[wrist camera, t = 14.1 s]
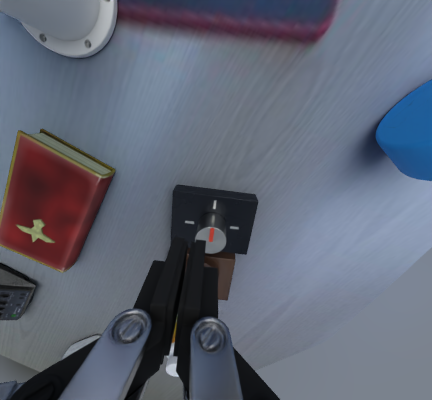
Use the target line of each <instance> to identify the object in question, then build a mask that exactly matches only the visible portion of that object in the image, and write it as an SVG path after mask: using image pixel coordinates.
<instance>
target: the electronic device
mask: <svg viewBox="0 0 432 400" xmlns="http://www.w3.org/2000/svg"><path fill="white" fill-rule="evenodd" d="M35 286H36V285H34V284H32V282H31V281H30V280H29V278H28V277H25V276H23V274H19V273H18V272H16V271H14V270H11V269H10V268H8V267H6V266H3V265H2V264H0V320H18V319H19V318H21V316H22V315H23V314H24V311H25V310H26V307H27V305H28V304H29V303H30V302H31V300H32V298H33V292H34V289H35V288H36V287H35Z"/></svg>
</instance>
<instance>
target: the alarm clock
mask: <svg viewBox="0 0 432 400" xmlns="http://www.w3.org/2000/svg"><path fill="white" fill-rule="evenodd" d="M376 141H377V143H378V144H379V145H380V147H381V148H382V149H383V150H384V152H385V153H386V154H387V155H388V157H389V158H390V159H391V160H392V162H393V163H394V164H395V165H396V167H397V168H398V169H399V170H400V171H401V172H402V173H404V174H405V175H407V176H409V177H412V178H415V179H420V180H427V181H432V79H431V80H430V81H428V82H426V83H425V84H423V85H422V86H420V87H419V88H417V89H416V90H414V91H413V92H411V93H410V94H409V95H407V96H406V97H405V98H403V99H402V100H401V101H400V102H399V103H397V104H396V105H395V106H394V107H393V108H392V109H391V110H390V111H389V112H388V113H387V114H386V115H385V117H384V118H383V119H382V121H381V122H380V124H379V125H378V128H377V130H376Z"/></svg>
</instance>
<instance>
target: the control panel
mask: <svg viewBox="0 0 432 400" xmlns="http://www.w3.org/2000/svg"><path fill="white" fill-rule="evenodd" d="M257 205H258V200H257V197H256V195H255V194H247V193H239V192H232V191H224V190H216V189H208V188H200V187H192V186H185V185H177V186H176V187H175V189H174V190H173V205H172V227H171V244H172V241H173V238H174V237H182V238H185V241H188V248H190V247H191V242H195V236H196V232H197V227H198V223H199V220H200V218H201V217H202V216H203V215H205V214H207V213H216V214H219V215H220V216H222V217H223V218H224V220H225V223H226V245H225V247H224V248H223V249H222V250H221V251H220V252H229V253H237V254H245V255H246V254H247V250H248V245H249V241H250V236H251V232H252V227H253V223H254V219H255V214H256V210H257Z"/></svg>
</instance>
